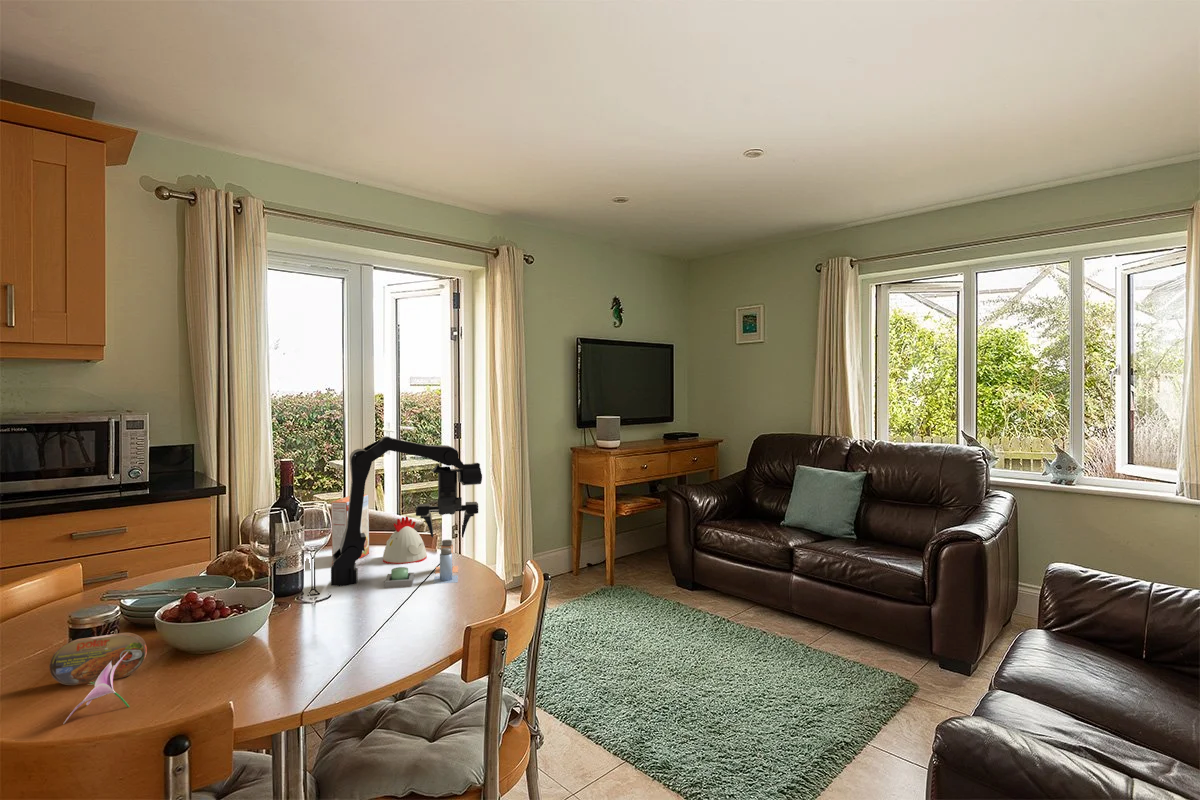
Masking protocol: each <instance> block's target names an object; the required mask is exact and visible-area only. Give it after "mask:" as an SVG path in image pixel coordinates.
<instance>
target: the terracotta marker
mask: <svg viewBox="0 0 1200 800" xmlns="http://www.w3.org/2000/svg"><path fill="white" fill-rule="evenodd" d="M442 548H451V553H452V570H453V566H454V565H453V563H454V544H453V540H452V539H443V540H442V541H441V544H440V550H441V549H442Z"/></svg>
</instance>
